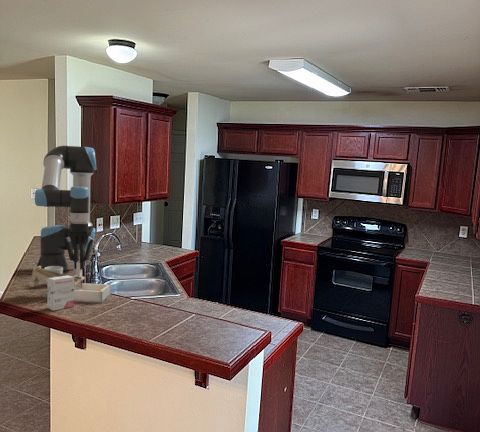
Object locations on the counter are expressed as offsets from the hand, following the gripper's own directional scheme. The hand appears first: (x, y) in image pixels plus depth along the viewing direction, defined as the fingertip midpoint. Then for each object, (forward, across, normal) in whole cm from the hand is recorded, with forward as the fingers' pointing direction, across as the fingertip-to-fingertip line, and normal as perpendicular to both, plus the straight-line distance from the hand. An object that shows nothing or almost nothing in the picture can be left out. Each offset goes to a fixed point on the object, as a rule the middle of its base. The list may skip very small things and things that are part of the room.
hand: (79, 276), depth 194 cm
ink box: (+7, +2, -23) cm, 24 cm away
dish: (+7, +9, -9) cm, 14 cm away
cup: (+7, -15, +8) cm, 18 cm away
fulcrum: (+7, -7, -8) cm, 13 cm away
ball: (+5, +12, -8) cm, 15 cm away
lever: (+4, -8, -4) cm, 10 cm away
